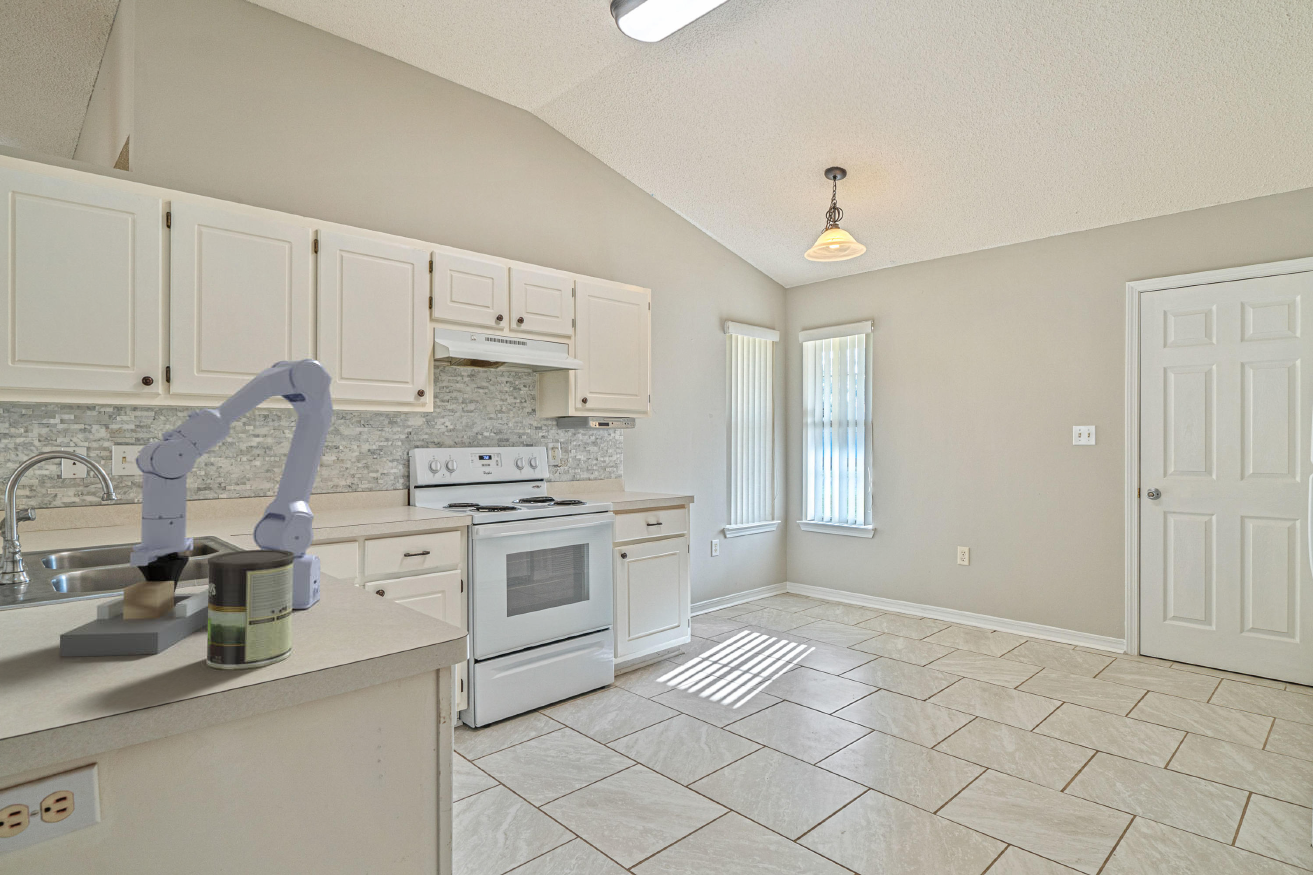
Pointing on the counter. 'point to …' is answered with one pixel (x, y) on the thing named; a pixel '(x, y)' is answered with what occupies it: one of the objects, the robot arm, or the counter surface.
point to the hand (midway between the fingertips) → (162, 603)
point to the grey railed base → (136, 629)
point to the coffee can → (249, 608)
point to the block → (148, 600)
